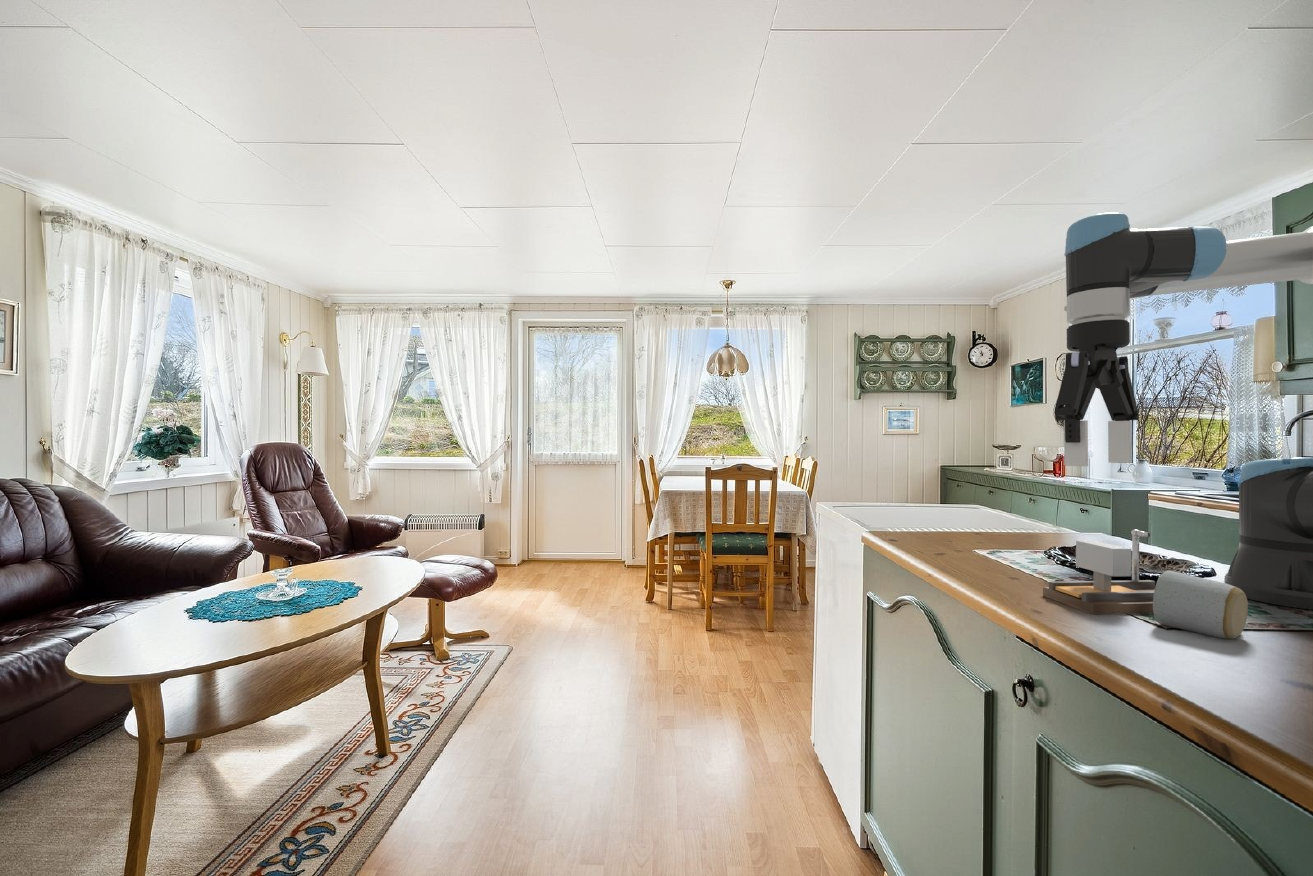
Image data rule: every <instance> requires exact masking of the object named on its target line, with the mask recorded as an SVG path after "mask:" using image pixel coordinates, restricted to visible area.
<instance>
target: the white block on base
mask: <svg viewBox="0 0 1313 876" xmlns="http://www.w3.org/2000/svg"><path fill="white" fill-rule="evenodd" d="M1075 567H1078V568H1081V569H1085V570H1088V571H1092V572H1093V580H1092V581H1093V586H1059V587H1056V590H1058V591H1061V592H1064V593H1067V594H1070V595H1073V596H1075V597H1078V598H1082V592H1139V591H1135V590H1132V589H1128V588H1125V587H1122V586H1111V581H1112V577H1132V548H1129V547H1124V546H1121V545H1116V544H1110V543H1106V542H1102V541H1099V540H1098V541H1097V540H1091V539H1089V540H1075Z"/></svg>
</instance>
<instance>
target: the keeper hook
mask: <svg viewBox="0 0 1313 876" xmlns="http://www.w3.org/2000/svg"><path fill="white" fill-rule="evenodd" d="M1130 533H1131V535H1132V539H1131V540H1132V541H1131V545H1132V547H1131V580H1140V537H1141V538H1147V539H1148V538H1150V536H1151V533H1150V532H1149V531H1142V530H1139V529H1138V528H1137V529H1132V530H1131V531H1130Z"/></svg>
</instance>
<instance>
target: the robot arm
mask: <svg viewBox="0 0 1313 876" xmlns="http://www.w3.org/2000/svg"><path fill="white" fill-rule="evenodd" d="M1064 257H1065V280H1066V281H1065V282H1066V284H1065V289H1066V305H1065V306H1064V308H1063V310H1064V311H1065V313H1066V323H1068V324H1071V325H1068V327H1067V328H1066V349H1067V350H1068V351H1070V352H1066V354H1065V363H1064V365H1065V366H1064V371H1063V376H1062V379H1061V383H1060V386H1059V387H1060V388H1059V392H1058V395H1057V400H1056V404H1055V407H1054V418H1055V420H1056V421H1063V457H1064V458H1063V461H1064V462H1063V464H1064V465H1063V466H1066V467H1089V429H1088V428H1089V426H1088V425H1089V424H1088V423H1089V421H1088V420H1086V419H1084V418H1085V416H1086V413H1087V411H1088V408H1089V406H1090V403H1091V402H1092V399H1093V397H1094V393H1095V392H1096V389H1098V390H1099V391H1100V392H1099V393H1100V395H1101V397H1102V399H1103V402H1104V404H1105V407H1106V409H1107V412H1108V414H1109V416H1110V418H1111V420H1110V421H1109V420H1108V421H1107V435H1108V437H1107V439H1108V440H1107V442H1108V444H1107V446H1108V447H1107V448H1108V449H1107V450H1108V451H1107V452H1108V455H1107V456H1108V458H1107V459H1108V463H1109V464H1110V463H1111V464H1112V463H1113V464H1132V421H1138V420H1139V419H1140V414H1139V409H1138V405H1137V401H1136V396H1135V393H1134V387H1133V383H1132V379H1131V376H1130V375H1131V374H1130V371H1129V359H1128V356H1127V355H1125V356H1123V355H1122V356H1118V355H1117V350H1118V349H1121V348H1125V347H1127V346H1129V345H1130V343H1131V331H1130V330H1131V324H1130V323H1131V322H1130V321H1128V320H1126V319H1127V318H1129V316H1130V315H1131V300H1130V299H1138V298H1143V297H1151V296H1159V295H1168V294H1169V295H1170V294H1177V293H1187V292H1188V293H1189V292H1197V291H1204V290H1215V289H1225V288H1232V287H1233V288H1236V287H1244V286H1252V285H1253V286H1254V285H1261V284H1273V283H1281V282H1282V283H1283V282H1289V281H1298V282H1299V281H1300V282H1301V283H1303V284H1305V285H1306V284H1307V285H1313V225H1312V226H1309V227H1308V228H1306V229H1305V230H1303V231H1302V232H1293V233H1285V234H1276V235H1268V236H1260V237H1251V238H1245V239H1242V238H1241V239H1234V240H1228V241H1227V239H1226V236H1225V234H1224V233H1223V232H1222V230H1220V229H1219V228H1217V227H1213V226H1194V225H1188V226H1182V227H1181V226H1179V227H1163V228H1162V227H1161V228H1147V229H1146V228H1144V229H1143V228H1142V229H1138V228H1131V224H1130V219H1129V217H1128V215H1127V214H1125V213H1122V212H1121V213H1119V212H1114V211H1113V212H1104V213H1097V214H1093V215H1089V216H1086V217H1083V218H1081V219H1078V220H1077V221H1075V222H1073V223H1072V224H1071V225H1070V226H1069V227H1068V228H1067V231H1066V238H1065V249H1064ZM1237 486H1238V521H1239V522H1238V529H1239V530H1238V532H1239V533H1238V535H1239V536H1238V537H1239V538H1238V549H1237V551H1236V553H1235V554H1234V557H1233V559H1232V561H1231V563H1230V566H1229V568H1228V571H1227V573H1226V574H1225V575H1224V581H1223V583H1226V584H1229V585H1232V586H1235V587H1237V588H1239V589H1241V590H1242V591H1243V592H1244V593H1245V595H1246V597H1247V600H1253V601H1257V602H1261V603H1265V604H1272V605H1278V606H1283V607H1290V608H1296V609H1303V610H1304V609H1305V610H1313V457H1290V458H1287V457H1286V458H1270V459H1258V460H1252V461H1248V462H1246V463H1245V464H1243V465H1242V466H1241V469H1240V475H1239V481H1238V483H1237Z"/></svg>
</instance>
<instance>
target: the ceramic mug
mask: <svg viewBox="0 0 1313 876" xmlns="http://www.w3.org/2000/svg"><path fill="white" fill-rule="evenodd" d="M1248 605H1249V604H1248V599H1247V597H1246V595H1245V593H1244V592H1243V591H1242V590H1241V589H1239V588H1237V587H1235V586H1232V585H1229V584H1226V583H1224V582H1221V581H1218V580H1212V579H1207V578H1204V577H1200V576H1194V575H1191V574H1186V573H1182V572H1179V571H1173V570H1165V571H1164V572H1163V573H1161V574H1160V575H1159V577H1158V579H1157V581H1156V583H1155V590H1154V596H1153V612H1154V613H1153V617H1154V619H1155V621H1156V622H1158V623H1159V624H1160V625H1162V626H1167V627H1171V628H1176V629H1180V630H1184V631H1188V632H1193V633H1197V634H1198V633H1199V634H1201V635H1206V636H1208V637H1209V636H1210V637H1214V638H1220V639H1226V640H1227V639H1228V640H1229V639H1230V640H1231V639H1235V638H1238V637H1239V636H1240V635H1241V634H1242V633H1243V631H1244V629H1245V626H1246V622H1247V619H1248V611H1249V609H1248V608H1249V607H1248Z"/></svg>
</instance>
